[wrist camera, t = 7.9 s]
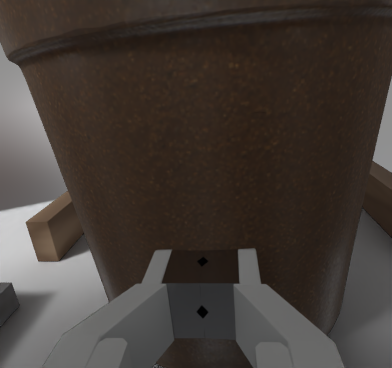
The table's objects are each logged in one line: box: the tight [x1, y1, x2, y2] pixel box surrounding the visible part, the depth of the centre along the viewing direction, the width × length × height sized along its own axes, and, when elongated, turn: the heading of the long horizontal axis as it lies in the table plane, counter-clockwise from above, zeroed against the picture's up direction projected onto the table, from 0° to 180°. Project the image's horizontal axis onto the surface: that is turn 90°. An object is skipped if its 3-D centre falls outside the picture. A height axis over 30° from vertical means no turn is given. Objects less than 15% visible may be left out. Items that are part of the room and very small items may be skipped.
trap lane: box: [0, 161, 392, 327], centre depth 17 cm, size 32×26×3 cm
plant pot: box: [0, 0, 392, 368], centre depth 14 cm, size 16×16×16 cm
